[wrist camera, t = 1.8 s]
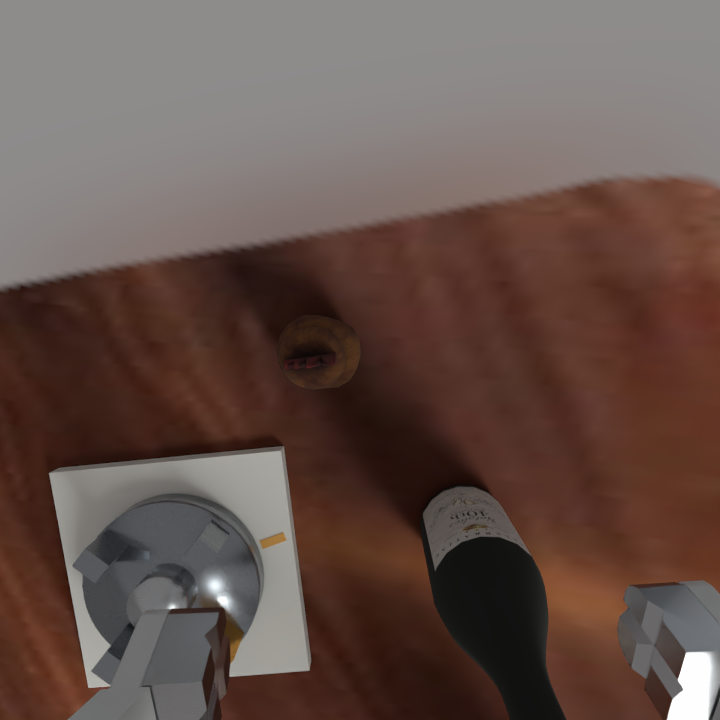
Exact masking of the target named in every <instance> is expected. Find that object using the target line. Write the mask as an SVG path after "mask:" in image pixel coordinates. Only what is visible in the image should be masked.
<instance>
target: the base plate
mask: <svg viewBox="0 0 720 720" xmlns="http://www.w3.org/2000/svg"><path fill="white" fill-rule="evenodd" d="M49 476H50V481H51V487H52V492H53V498H54V503H55V508H56V514H57V519H58V525H59V530H60V536H61V541H62V547H63V552H64V557H65V563H66V568H67V574H68V579H69V585H70V590H71V596H72V601H73V606H74V612H75V617H76V623H77V628H78V634H79V639H80V644H81V650H82V655H83V661H84V666H85V672H86V677H87V683H88V688H93V687H106V686H110V685H111V684H110V685H109V684H107V683H106V682H105V681H103V680H102V679H101V678H99V677H98V676H97V675H95V674H94V673H93V672H91V670H92V669H93V668H94V666H95V665H96V664H97V662H98V661H99V660H100V659H101V657H102V656H103V655H104V653H105V652H106V651H107V649H108V648H109V647H110V644H109V643H108V642H107V641H106V640H105V639H104V638H103V637H102V636H101V634H100V633H99V631H98V630H97V629H96V627H95V625H94V624H93V622H92V620H91V618H90V616H89V613H88V611H87V608H86V604H85V600H84V596H83V587H82V582H83V574H82V573H80V572H79V571H78V570H76V569H75V568H74V567H72V565H73V563H74V562H75V561H76V560H77V558H78V557H79V556H80V554H81V553H82V552H83V551H84V549H85V548H86V547H87V546H89V545H90V544H91V543H92V542H93V541H94V540H96V538H97V537H98V535H99V534H100V533H101V532H102V531H103V530H104V529H105V527H107V526H108V525H109V524H110V523H111V522H112V521H114V520H115V519H116V518H117V517H118V516H120V515H121V514H122V513H123V512H124V511H126V510H127V509H128V508H130V507H131V506H133V505H134V504H136V503H138V502H140V501H142V500H145V499H147V498H150V497H154V496H157V495H163V494H177V493H180V494H190V495H194V496H199V497H202V498H205V499H208V500H211V501H213V502H215V503H217V504H219V505H221V506H222V507H224V508H225V509H227V510H228V511H230V512H231V513H232V514H234V515H235V516H236V517H237V518H238V519H239V520H240V521H241V522H242V523H243V524H244V525H245V526H246V528H247V529H248V530H249V532H250V533H251V535H252V536H253V538H254V540H255V542H256V544H257V546H258V548H259V551H260V554H261V557H262V562H263V566H264V589H263V594H262V598H261V601H260V604H259V606H258V609H257V612H256V614H255V617H254V620H253V622H252V625H251V627H250V629H249V630H248V632H247V634H246V635H245V637H244V638H243V640H242V641H241V642H240V645H239V647H238V650H237V653H236V655H235V658H234V660H233V661H232V662H231V664H230V673H229V677H234V676H247V675H259V674H272V673H285V672H298V671H309V670H310V664H311V654H310V646H309V638H308V630H307V623H306V615H305V607H304V599H303V591H302V584H301V576H300V568H299V560H298V552H297V545H296V537H295V529H294V521H293V513H292V506H291V498H290V490H289V482H288V474H287V467H286V459H285V451H284V446H279V447H268V448H258V449H248V450H237V451H227V452H217V453H206V454H196V455H186V456H176V457H165V458H155V459H145V460H134V461H124V462H114V463H103V464H93V465H83V466H72V467H62V468H58V469H56V470H54V471H52V472H50V473H49Z"/></svg>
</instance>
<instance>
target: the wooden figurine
mask: <svg viewBox="0 0 720 720" xmlns="http://www.w3.org/2000/svg"><path fill="white" fill-rule="evenodd" d="M277 354H278V363H279V364H280V367H281V369H282V371H283V372H284V374H285V376H286V377H287V378H288V379H289V380H290V381H292V382H293V383H294V384H296V385H298V386H300V387H303V388H305V389H320V388H338V387H340V386H342V385H343V384H345V383H347V382H348V381H350V380H351V378H352V377H353V375H354V373H355V372H356V370H357V367H358V364H359V360H360V356H361V351H360V340H359V338H358V336H357V335H356V333H355V331H354V329H353V328H352V327H350V326H349V325H347V324H345V323H343V322H342V321H339V320H336V319H333V318H330V317H325V316H319V315H303V316H300V317H299V318H297V319H295V320H294V321H292V322H291V323H289V324H288V325H287V326H286V328H285V329H284V331H283V332H282V333H281V335H280V338H279V342H278V347H277Z"/></svg>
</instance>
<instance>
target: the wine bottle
mask: <svg viewBox="0 0 720 720" xmlns="http://www.w3.org/2000/svg"><path fill="white" fill-rule="evenodd" d="M420 527H421V535H422V542H423V547H424V553H425V558H426V563H427V568H428V573H429V578H430V583H431V589H432V594H433V599H434V604H435V606H436V608H437V611H438V613H439V615H440V617H441V619H442V620H443V622H444V624H445V626H446V627H447V629H448V631H449V633H450V634H451V636H452V637H453V639H454V640H455V641H456V643H457V644H458V645H459V646H460V647H461V648H462V649H463V650H464V651H465V652H466V653H467V654H468V655H469V656H470V657H471V658H472V659H473V660H474V661H475V662H476V663H477V664H478V665H479V666H480V667H481V668H482V669H483V670H484V671H485V672H486V673H487V674H488V675H489V677H490V678H491V679H492V680H493V682H494V683H495V685H496V686H497V687H498V689H499V691H500V693H501V695H502V697H503V700H504V703H505V706H506V709H507V711H508V714H509V717H510V720H566V718H565V716H564V713H563V711H562V709H561V707H560V705H559V702H558V700H557V698H556V695H555V693H554V691H553V688H552V686H551V683H550V680H549V676H548V672H547V668H546V641H547V631H548V607H547V599H546V592H545V586H544V583H543V579H542V576H541V573H540V571H539V569H538V567H537V565H536V564H535V562H534V560H533V558H532V556H531V554H530V553H529V551H528V549H527V548H526V546H525V545H524V543H523V541H522V540H521V538H520V536H519V535H518V533H517V531H516V530H515V528H514V526H513V525H512V523H511V522H510V520H509V518H508V517H507V515H506V513H505V512H504V510H503V508H502V507H501V505H500V504H499V502H498V501H497V500H496V499H495V498H494V497H493V496H491V495H490V494H489V493H488V492H487V491H485V490H482V489H480V488H477V487H475V486H472V485H455V486H452V487H449V488H445V489H443V490H441V491H440V492H439V493H437V494H436V495H435V496H433V497H432V498H431V499H430V501H429V502H428V504H427V505H426V507H425V508H424V510H423V514H422V518H421V523H420Z"/></svg>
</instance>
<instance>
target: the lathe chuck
mask: <svg viewBox="0 0 720 720" xmlns="http://www.w3.org/2000/svg"><path fill="white" fill-rule="evenodd" d="M72 567H74V568H75V569H76V570H78V571H79V572H80V573H82V574H83V582H82V587H83V596H84V600H85V604H86V608H87V611H88V613H89V616H90V618H91V620H92V622H93V624H94V625H95V627H96V629H97V630H98V631H99V633H100V634H101V636H102V637H103V638H104V639H105V640H106V641H107V642H108V643H109V644H110V647H109V648H108V649H107V651H106V652H105V653H104V655H103V656H102V657H101V659H100V660H99V661H98V662H97V664H96V665H95V666H94V668H93V669H92V670H91V672H93V673H94V674H95V675H97V676H98V677H99V678H101V679H102V680H103V681H105V682H106V683H107V684H109V685H110V684H111V683H112V681H113V678H114V676H115V674H116V671H117V669H118V666H119V664H120V662H121V659H122V657H123V655H124V652H125V650H126V648H127V645H128V643H129V641H130V638H131V636H132V634H133V631H134V629H135V626H136V624H137V622H138V619H139V617H140V616H141V615H142V614H143V612H144V611H145V610H157V609H176V608H213V607H222V608H224V609H225V614H226V620H227V623H226V627H225V632H224V634H225V635H226V636H227V637H228V638H229V641H230V656H231V662H232V661H233V660H234V658H235V655H236V653H237V650H238V647H239V645H240V642H241V641H242V640H243V638H244V637H245V635H246V634H247V632H248V630H249V629H250V627H251V625H252V622H253V620H254V617H255V614H256V612H257V609H258V606H259V604H260V601H261V598H262V594H263V589H264V566H263V562H262V557H261V554H260V551H259V548H258V546H257V544H256V542H255V540H254V538H253V536H252V535H251V533H250V532H249V530H248V529H247V528H246V526H245V525H244V524H243V523H242V522H241V521H240V520H239V519H238V518H237V517H236V516H235V515H234V514H232V513H231V512H230V511H228V510H227V509H225V508H224V507H222V506H221V505H219V504H217V503H215V502H213V501H211V500H208V499H205V498H202V497H199V496H194V495H190V494H180V493H177V494H163V495H157V496H154V497H150V498H147V499H145V500H142V501H140V502H138V503H136V504H134V505H133V506H131V507H130V508H128V509H127V510H126V511H124V512H123V513H122V514H121V515H120V516H118V517H117V518H116V519H115V520H114V521H112V522H111V523H110V524H109V525H108V526H107V527H105V529H104V530H103V531H102V532H101V533H100V534H99V535H98V537H97V538H96V540H94V541H93V542H92V543H91V544H90V545H89V546H87V547H86V548H85V549H84V551H83V552H82V553H81V554H80V556H79V557H78V558H77V560H76V561H75V562H74V563H73V565H72ZM231 662H230V664H231Z"/></svg>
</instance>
